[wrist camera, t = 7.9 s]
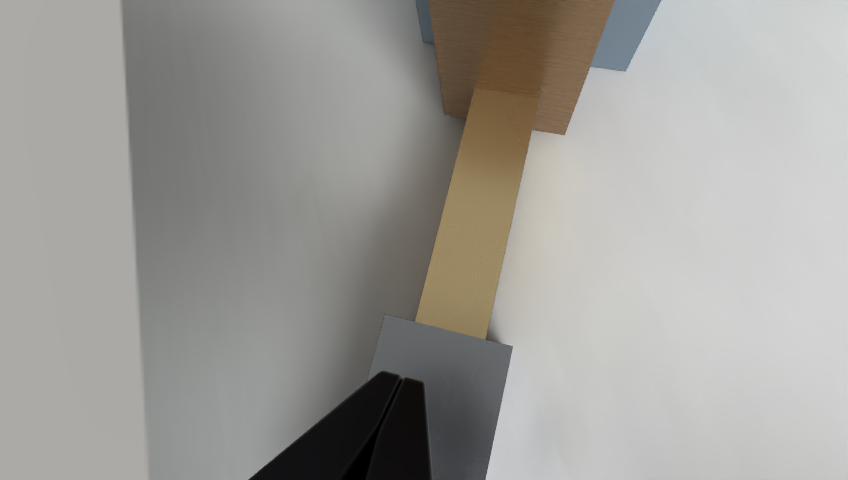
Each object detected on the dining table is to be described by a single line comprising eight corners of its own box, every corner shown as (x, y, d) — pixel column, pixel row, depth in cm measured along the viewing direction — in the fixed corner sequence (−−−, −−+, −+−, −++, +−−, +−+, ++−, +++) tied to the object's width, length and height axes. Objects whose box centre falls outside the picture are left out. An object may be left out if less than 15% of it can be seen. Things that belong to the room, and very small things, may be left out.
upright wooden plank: (508, 411, 18) (548, 480, 8) (374, 374, 19) (244, 389, 9) (596, -23, 23) (699, -363, 12) (484, -36, 24) (488, -362, 13)
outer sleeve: (449, 616, 18) (439, 701, 13) (339, 576, 18) (295, 645, 14) (505, 349, 20) (512, 346, 15) (405, 324, 20) (385, 313, 16)
